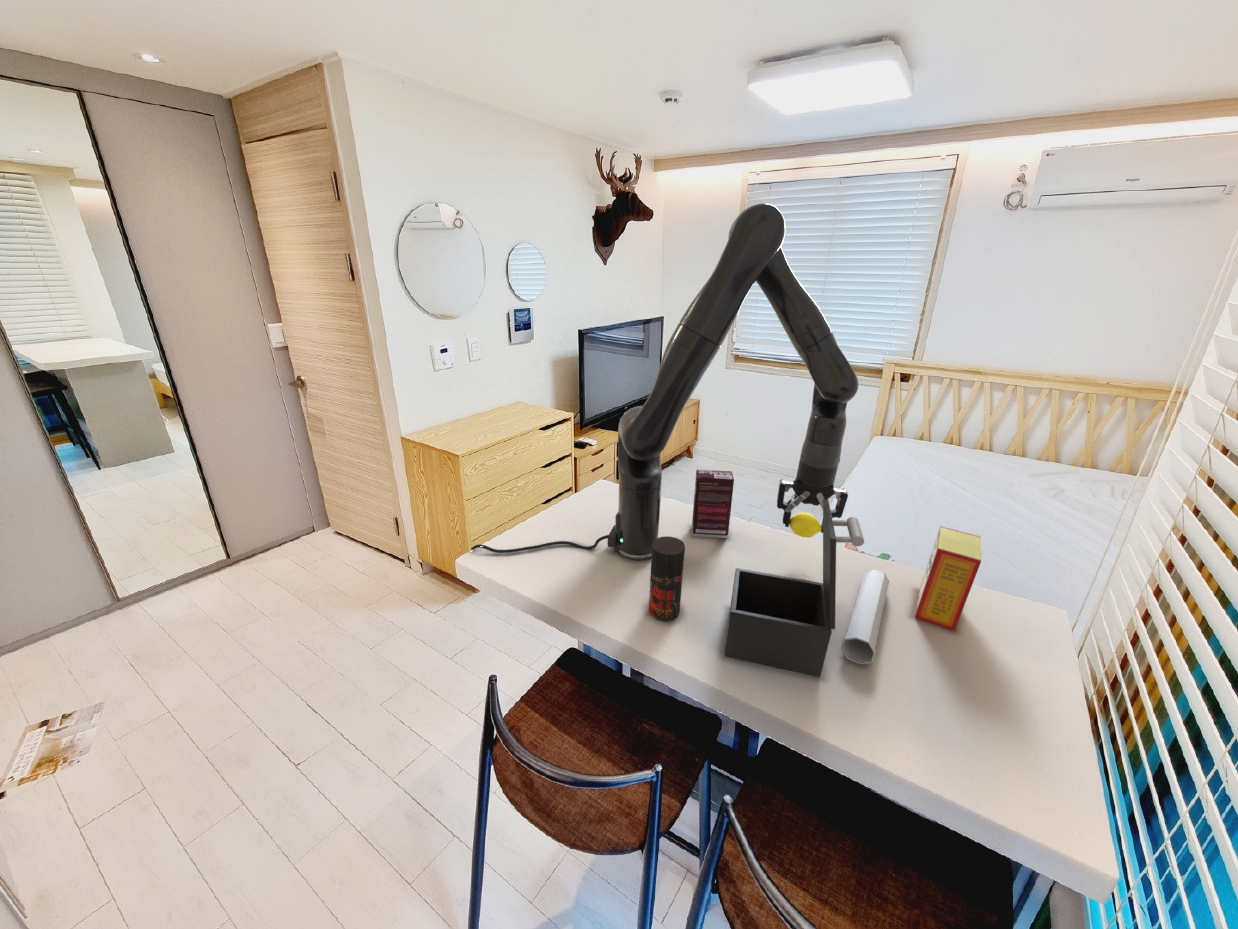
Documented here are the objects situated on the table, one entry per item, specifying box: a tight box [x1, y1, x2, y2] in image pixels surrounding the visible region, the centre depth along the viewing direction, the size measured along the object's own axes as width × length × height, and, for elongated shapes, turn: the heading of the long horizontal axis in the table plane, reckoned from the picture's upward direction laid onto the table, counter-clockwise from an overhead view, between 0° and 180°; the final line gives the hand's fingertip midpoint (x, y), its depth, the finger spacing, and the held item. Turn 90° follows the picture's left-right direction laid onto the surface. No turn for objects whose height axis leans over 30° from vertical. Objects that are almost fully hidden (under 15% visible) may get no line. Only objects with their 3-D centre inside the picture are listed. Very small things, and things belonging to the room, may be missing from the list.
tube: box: [840, 569, 890, 665], centre depth 94 cm, size 5×5×25 cm
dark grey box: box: [724, 567, 833, 678], centre depth 88 cm, size 16×13×10 cm
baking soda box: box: [914, 525, 982, 632], centre depth 95 cm, size 10×6×16 cm
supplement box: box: [691, 469, 735, 539], centre depth 119 cm, size 9×5×16 cm, turn 84°
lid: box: [822, 499, 865, 630], centre depth 80 cm, size 16×13×5 cm
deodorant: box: [648, 535, 686, 623], centre depth 93 cm, size 6×6×15 cm
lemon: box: [789, 512, 822, 539], centre depth 110 cm, size 7×5×5 cm
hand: (804, 528), depth 111 cm, fingers closed on lemon, 7 cm apart
